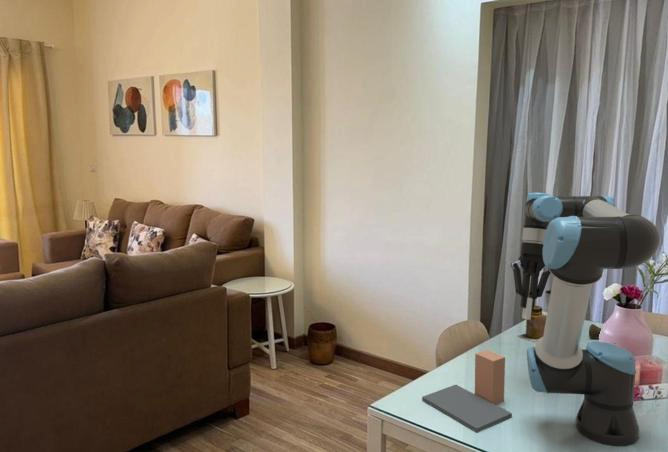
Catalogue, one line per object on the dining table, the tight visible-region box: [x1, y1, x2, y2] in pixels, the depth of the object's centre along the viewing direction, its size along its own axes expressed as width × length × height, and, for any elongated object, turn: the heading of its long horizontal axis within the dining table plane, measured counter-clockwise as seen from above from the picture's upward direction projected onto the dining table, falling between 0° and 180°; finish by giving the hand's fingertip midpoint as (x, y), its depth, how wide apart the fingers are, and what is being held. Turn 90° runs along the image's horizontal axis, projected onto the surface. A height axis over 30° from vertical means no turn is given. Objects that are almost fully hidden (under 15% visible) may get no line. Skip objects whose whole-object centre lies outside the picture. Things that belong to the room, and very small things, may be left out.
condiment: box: [518, 305, 544, 343], centre depth 212 cm, size 7×8×12 cm
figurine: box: [533, 314, 547, 338], centre depth 198 cm, size 8×8×15 cm
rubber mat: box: [421, 384, 513, 433], centre depth 160 cm, size 22×14×1 cm, turn 32°
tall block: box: [474, 349, 506, 405], centre depth 164 cm, size 7×5×14 cm
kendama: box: [588, 318, 609, 339], centre depth 211 cm, size 6×10×20 cm
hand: (526, 318), depth 169 cm, fingers closed
